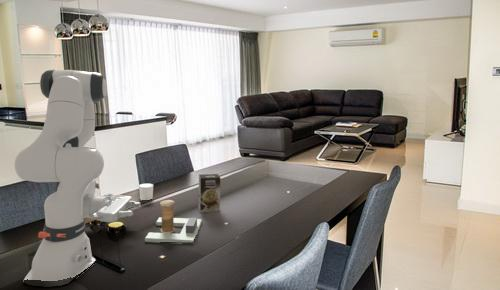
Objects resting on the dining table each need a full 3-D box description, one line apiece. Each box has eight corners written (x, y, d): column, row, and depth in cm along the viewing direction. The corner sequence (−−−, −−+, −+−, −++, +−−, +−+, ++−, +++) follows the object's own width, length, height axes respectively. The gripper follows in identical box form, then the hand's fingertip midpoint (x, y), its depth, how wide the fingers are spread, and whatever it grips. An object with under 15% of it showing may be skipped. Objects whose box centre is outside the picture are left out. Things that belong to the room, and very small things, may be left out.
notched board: (193, 244, 147) (193, 232, 146) (145, 241, 147) (145, 230, 146) (201, 222, 166) (201, 212, 165) (159, 220, 167) (159, 210, 166)
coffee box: (200, 212, 177) (200, 178, 173) (198, 207, 183) (198, 174, 179) (220, 211, 179) (220, 177, 176) (217, 206, 185) (218, 173, 182)
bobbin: (173, 234, 154) (172, 205, 152) (158, 233, 154) (158, 204, 152) (176, 228, 160) (175, 200, 157) (162, 228, 160) (162, 199, 157)
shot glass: (149, 202, 188) (149, 188, 186) (136, 200, 189) (136, 186, 188) (156, 197, 194) (155, 183, 193) (143, 196, 196) (142, 182, 194)
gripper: (89, 209, 145) (126, 211, 144) (111, 192, 165) (143, 193, 164) (90, 225, 146) (127, 227, 146) (111, 206, 166) (144, 207, 166)
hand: (136, 209), depth 155 cm, fingers open, 8 cm apart
